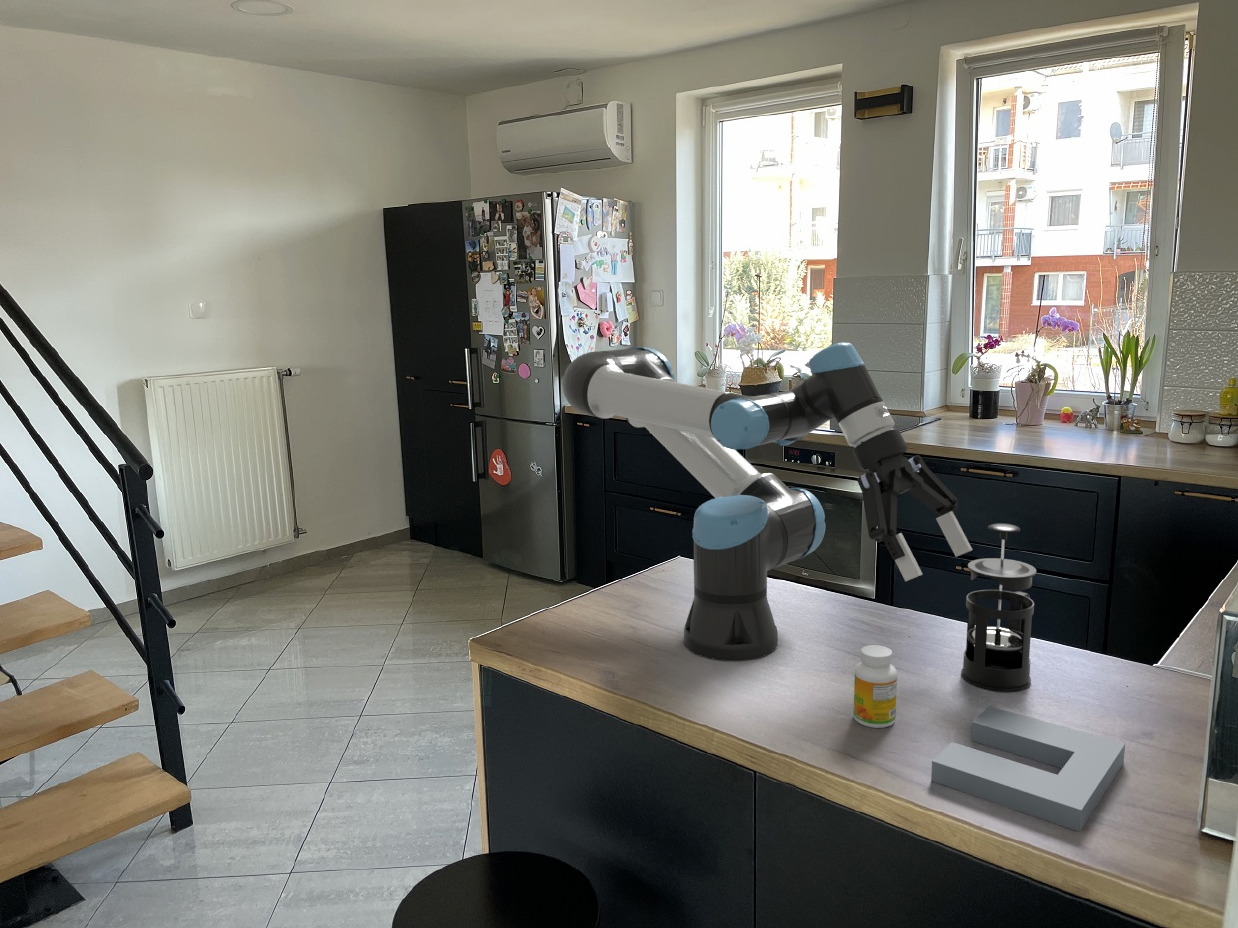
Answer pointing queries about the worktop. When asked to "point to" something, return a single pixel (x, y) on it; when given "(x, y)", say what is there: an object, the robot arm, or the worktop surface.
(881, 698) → the supplement bottle
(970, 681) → the french press
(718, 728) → the worktop surface
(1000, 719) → the notched board
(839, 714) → the worktop surface
